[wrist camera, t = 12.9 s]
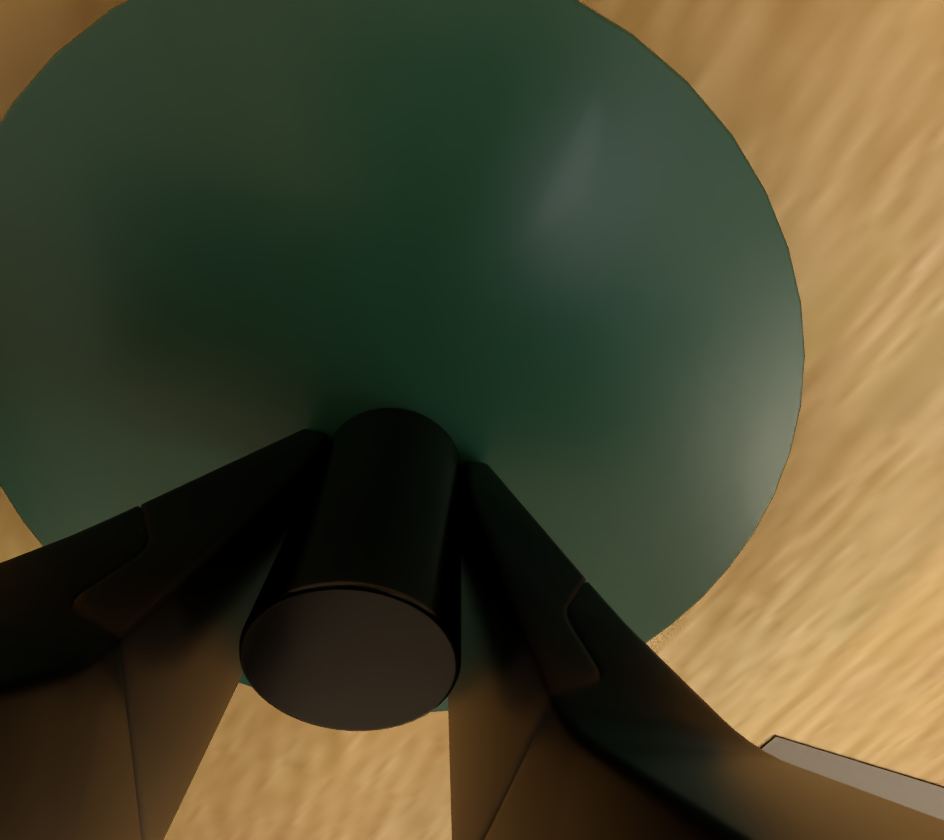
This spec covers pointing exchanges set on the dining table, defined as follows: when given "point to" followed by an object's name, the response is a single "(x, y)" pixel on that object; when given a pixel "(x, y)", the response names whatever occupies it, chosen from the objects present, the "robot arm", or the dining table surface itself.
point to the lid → (393, 310)
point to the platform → (862, 776)
